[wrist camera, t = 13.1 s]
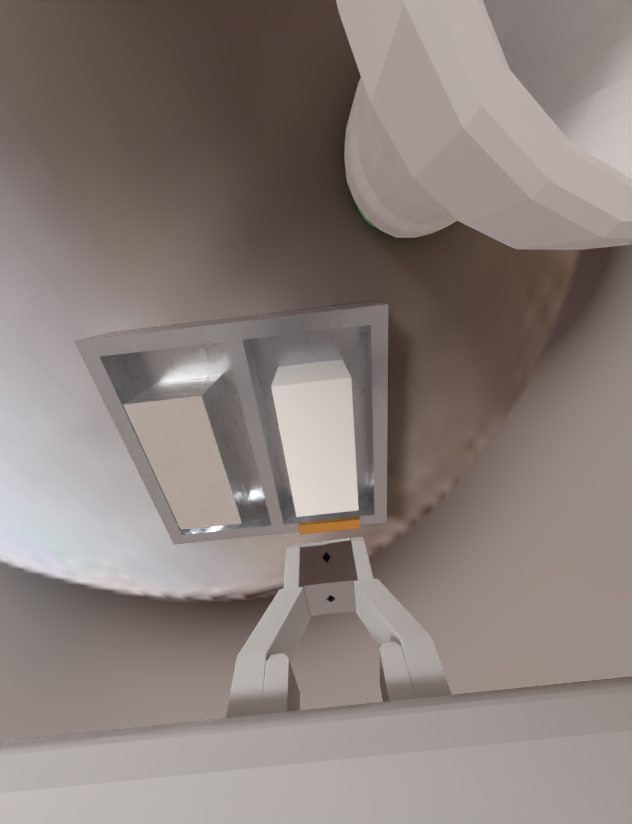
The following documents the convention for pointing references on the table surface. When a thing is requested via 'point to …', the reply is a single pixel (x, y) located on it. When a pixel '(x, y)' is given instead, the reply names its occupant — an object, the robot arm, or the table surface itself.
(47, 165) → the table surface
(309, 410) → the white rectangular block
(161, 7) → the table surface
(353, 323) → the tray
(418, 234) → the cup
